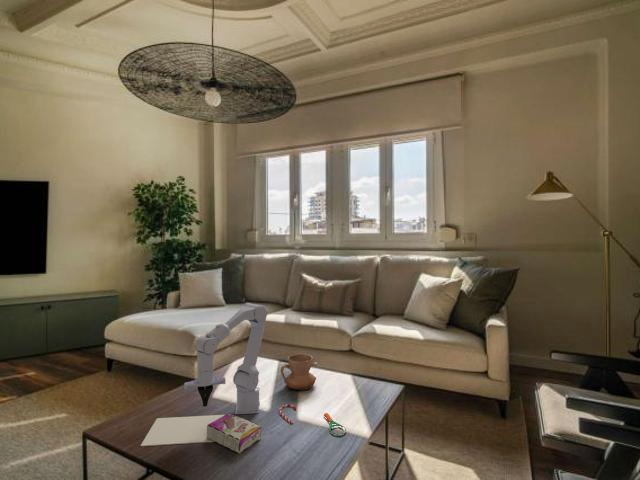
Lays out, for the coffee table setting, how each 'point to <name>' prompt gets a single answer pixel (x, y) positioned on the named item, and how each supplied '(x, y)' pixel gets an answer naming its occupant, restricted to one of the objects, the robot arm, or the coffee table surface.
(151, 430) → the mat
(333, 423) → the magnifying glass
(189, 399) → the coffee table surface
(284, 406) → the candy cane
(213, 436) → the candy bar box
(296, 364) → the ceramic jug
